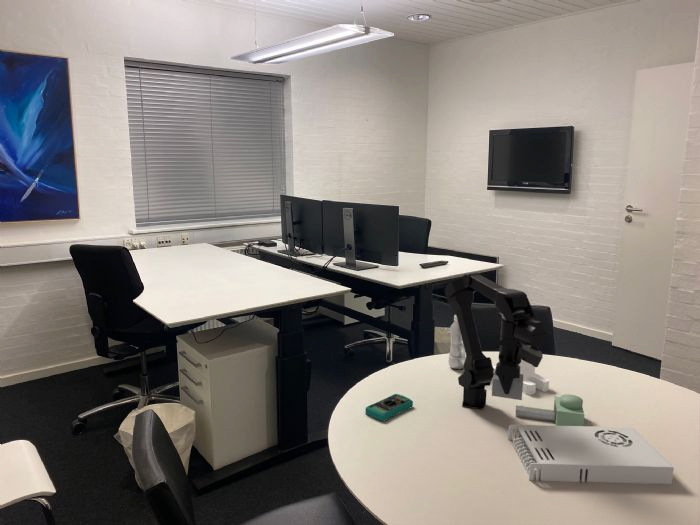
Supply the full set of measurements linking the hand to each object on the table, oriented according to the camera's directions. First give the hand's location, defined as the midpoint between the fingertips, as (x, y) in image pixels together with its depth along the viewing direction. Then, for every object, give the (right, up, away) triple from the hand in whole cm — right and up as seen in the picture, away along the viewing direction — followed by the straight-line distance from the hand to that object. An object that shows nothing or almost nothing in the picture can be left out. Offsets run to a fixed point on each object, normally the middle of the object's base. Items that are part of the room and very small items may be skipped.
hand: (507, 389), depth 145 cm
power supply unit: (+14, -15, -16) cm, 26 cm away
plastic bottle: (-5, -3, +45) cm, 45 cm away
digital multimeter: (-32, -10, +11) cm, 36 cm away
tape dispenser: (+14, -6, +32) cm, 35 cm away
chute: (0, -1, 0) cm, 1 cm away
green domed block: (+14, -10, +6) cm, 18 cm away
